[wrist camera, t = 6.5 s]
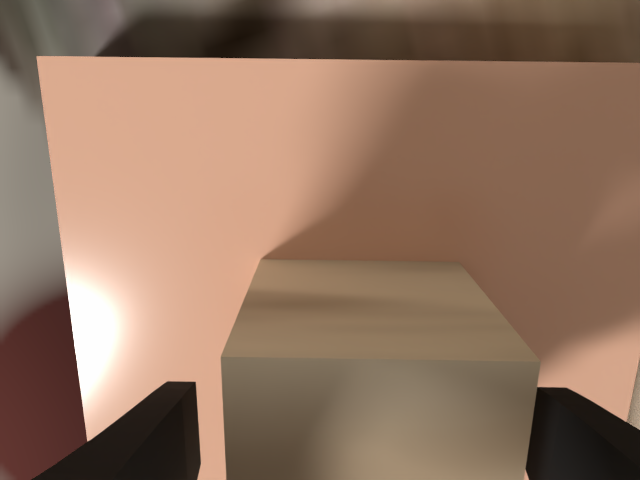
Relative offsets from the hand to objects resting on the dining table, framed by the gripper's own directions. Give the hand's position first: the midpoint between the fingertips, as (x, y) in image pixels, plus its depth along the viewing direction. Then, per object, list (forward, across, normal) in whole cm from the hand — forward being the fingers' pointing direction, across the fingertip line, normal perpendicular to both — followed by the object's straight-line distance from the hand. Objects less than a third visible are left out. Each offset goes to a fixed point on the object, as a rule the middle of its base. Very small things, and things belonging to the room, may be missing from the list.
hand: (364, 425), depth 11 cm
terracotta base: (+5, 0, 0) cm, 5 cm away
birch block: (+3, 0, 0) cm, 3 cm away
